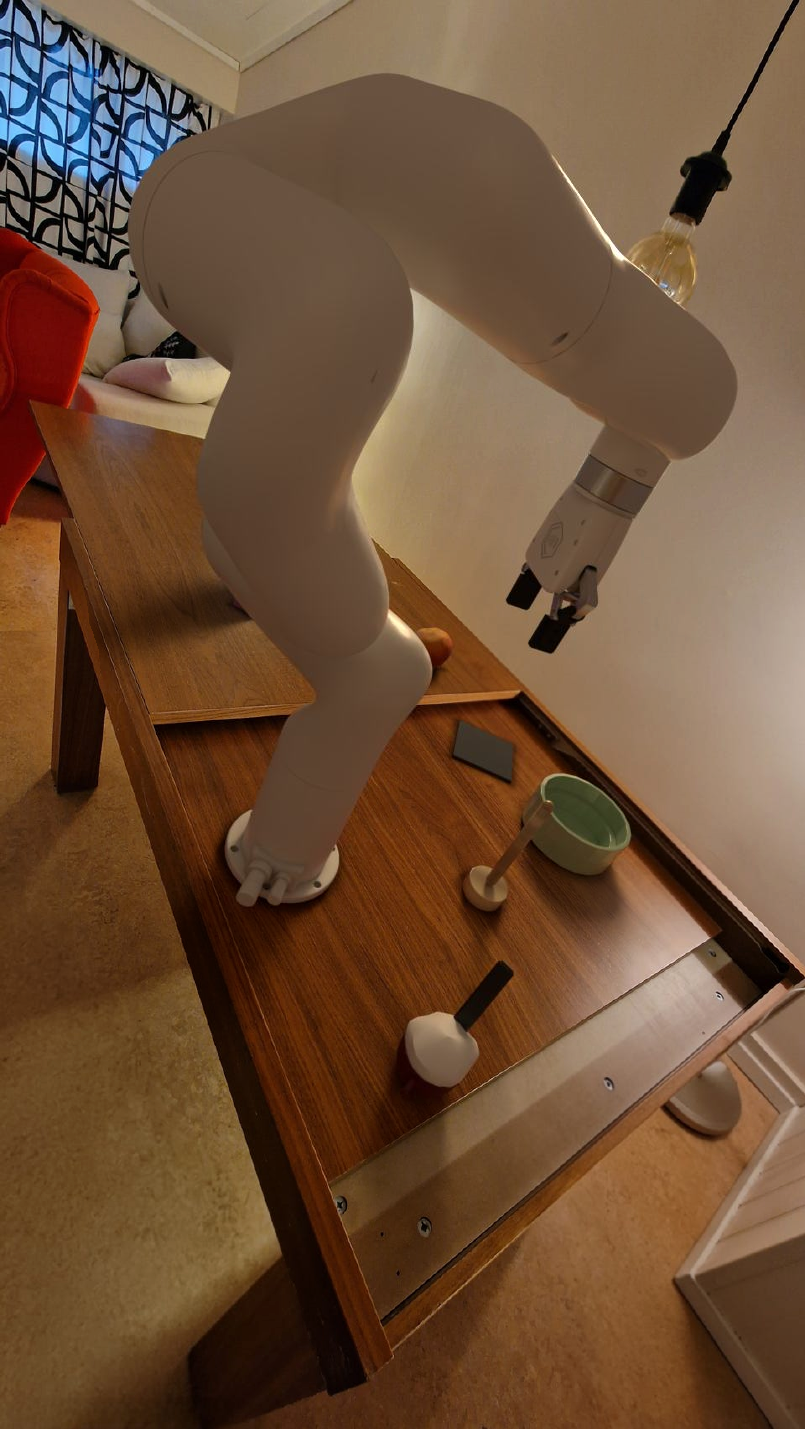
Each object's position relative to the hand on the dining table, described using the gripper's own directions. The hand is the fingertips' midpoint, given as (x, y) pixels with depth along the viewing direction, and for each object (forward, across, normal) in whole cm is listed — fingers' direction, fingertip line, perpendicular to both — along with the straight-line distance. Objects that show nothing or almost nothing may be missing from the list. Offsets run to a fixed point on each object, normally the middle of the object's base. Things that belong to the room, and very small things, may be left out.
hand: (527, 626), depth 72 cm
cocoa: (+28, +37, -7) cm, 47 cm away
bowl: (+28, +4, +21) cm, 35 cm away
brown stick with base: (+28, +16, +4) cm, 33 cm away
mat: (+28, -12, +12) cm, 32 cm away
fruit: (+28, -34, +4) cm, 44 cm away
